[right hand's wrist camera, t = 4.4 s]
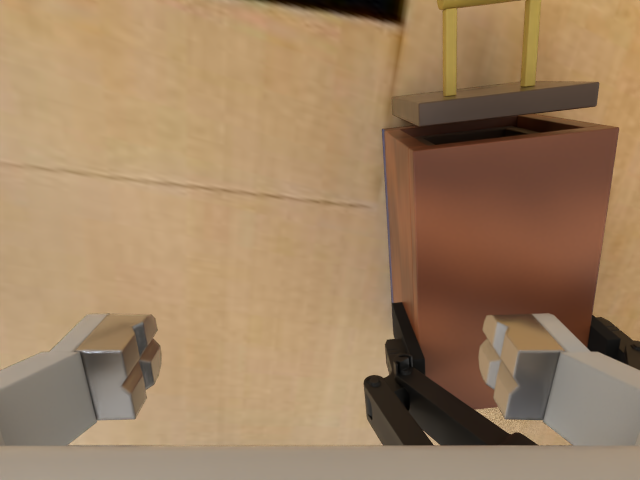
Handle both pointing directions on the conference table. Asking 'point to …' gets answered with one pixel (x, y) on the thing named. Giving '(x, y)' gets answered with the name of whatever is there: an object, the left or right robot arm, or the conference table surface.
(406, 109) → the drawer
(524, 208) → the cabinet
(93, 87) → the conference table surface
